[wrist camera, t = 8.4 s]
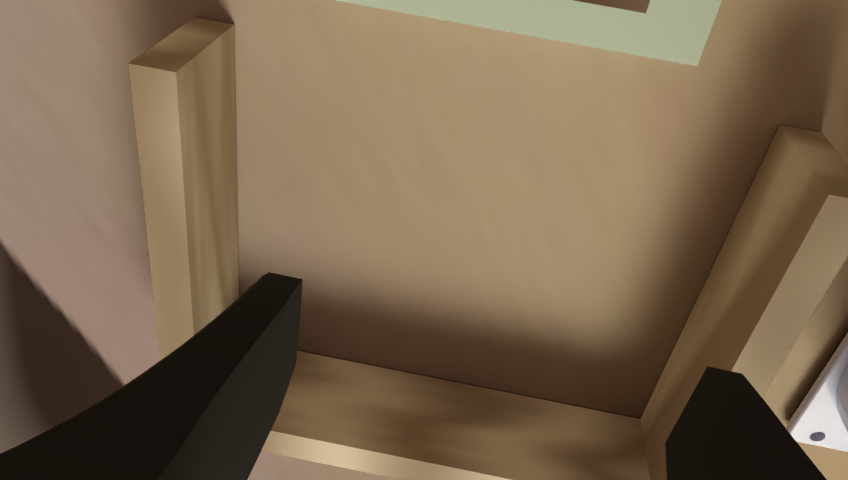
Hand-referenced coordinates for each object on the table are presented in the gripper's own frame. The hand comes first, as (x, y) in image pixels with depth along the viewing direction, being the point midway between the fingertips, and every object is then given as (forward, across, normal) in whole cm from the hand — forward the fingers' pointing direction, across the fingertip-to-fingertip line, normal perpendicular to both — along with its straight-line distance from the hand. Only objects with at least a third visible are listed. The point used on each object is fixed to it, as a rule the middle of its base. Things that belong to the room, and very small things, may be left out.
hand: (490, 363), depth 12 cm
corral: (+10, 0, +5) cm, 12 cm away
